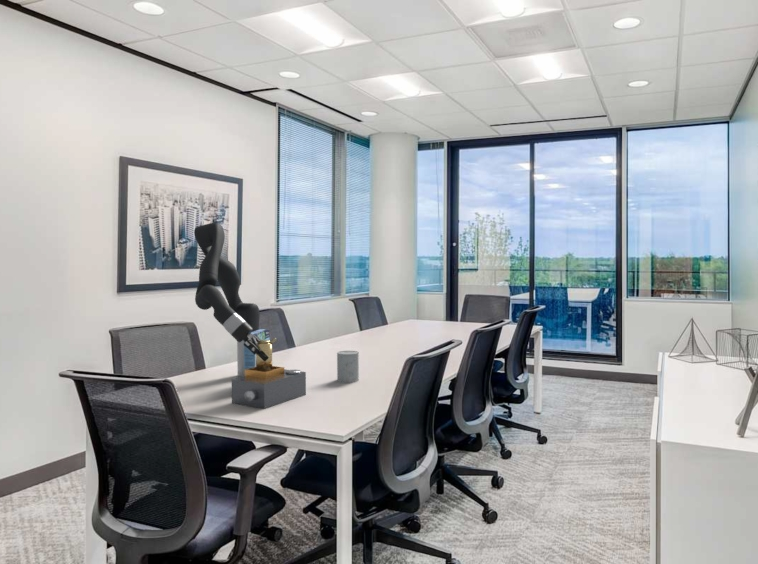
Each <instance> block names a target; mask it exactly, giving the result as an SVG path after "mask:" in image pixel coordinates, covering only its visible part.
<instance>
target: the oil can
mask: <svg viewBox="0 0 758 564" xmlns="http://www.w3.org/2000/svg"><path fill="white" fill-rule="evenodd" d="M276 341H277V338H276V337H273V339H272V340H259V341H258V344H259V347H260V348H261V350H262V351H263V352H264V353H265V354H266V355H267V356H268V357H269V358H268V359H267V360H266V361H263V360H262V359H261V358H260V357H259V356H258V355H256V370H257V371H265V372H266V371H270V370H272V366H273V344H274V343H275V342H276Z"/></svg>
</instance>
